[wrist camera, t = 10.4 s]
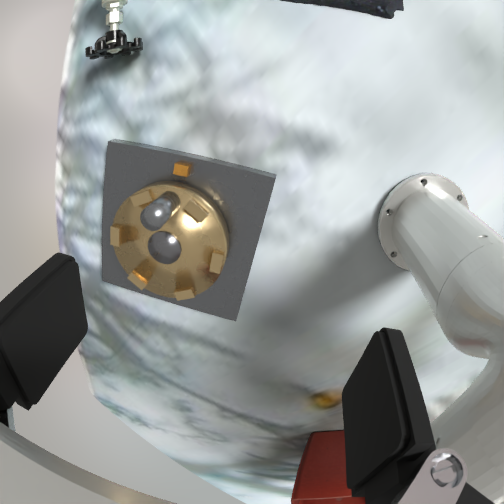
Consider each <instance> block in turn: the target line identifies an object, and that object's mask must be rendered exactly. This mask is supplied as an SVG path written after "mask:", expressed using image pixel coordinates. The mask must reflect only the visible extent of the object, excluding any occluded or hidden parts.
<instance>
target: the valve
mask: <svg viewBox="0 0 504 504" xmlns="http://www.w3.org/2000/svg"><path fill="white" fill-rule="evenodd" d="M127 2H128V0H102V7H103V8H106V10H107V11H109V14H107V15H106V25H107V26H110V31H109V32H107V33H106V36H104V37H101V38H99V39H98V40H97V41H96V43H95V50H92V46H90V47H87V48H86V57H90V59H97V58H99V57H102V56H104V58H105V59H108V58H112V57H113V56H114V55H119V54H121V55H123V56H125V55H130V54H131V51H135V52H136V51H141V50H143V42H142V38H134V42H127V37H126V34H125V33H124V32H123V30H119V25H120V24H121V23H122V22H123V13H122V12H119V11H120V9H122V8H123V6H124V5H125V4H127Z"/></svg>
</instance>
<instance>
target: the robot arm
mask: <svg viewBox="0 0 504 504" xmlns="http://www.w3.org/2000/svg"><path fill="white" fill-rule="evenodd" d="M422 179H423V181H422V182H421V180H422ZM457 196H458V197H457ZM388 209H389V211H388V212H386V211H387V210H388ZM378 235H379V240H380V243H381V246H382V248H383V250H384V252H385V253H386V255H387V256H388V258H389V259H390V260H391V261H392V262H393V263H395V264H396V265H397V266H399V267H401V268H403V269H406V270H409V271H411V273H412V275H413V276H414V278H415V280H416V282H417V283H418V285H419V287H420V289H421V291H422V292H423V294H424V296H425V298H426V300H427V302H428V304H429V305H430V307H431V309H432V311H433V313H434V315H435V317H436V319H437V321H438V323H439V324H440V326H441V328H442V330H443V332H444V334H445V336H446V337H447V339H448V340H449V342H450V343H451V344H452V345H453V346H454V347H455V348H456V349H457V350H459V351H460V352H462V353H464V354H467V355H469V356H473V357H477V358H484V359H489V361H488V363H487V365H486V366H485V368H484V370H483V371H482V372H481V373H480V374H479V376H478V377H477V378H476V379H475V380H474V381H473V382H472V384H471V385H470V387H469V388H468V389H467V390H466V391H465V392H464V393H463V394H462V395H461V396H460V397H459V398H458V399H457V400H456V401H455V402H454V403H453V404H451V405H450V406H449V407H448V408H447V409H446V410H445V411H444V412H443V413H442V414H441V415H440V416H439V417H437V418H436V419H435V420H434V421H433V422H432V423H431V424H430V421H429V417H428V413H427V410H426V406H425V403H424V399H423V395H422V392H421V389H420V385H419V382H418V379H417V376H416V373H415V369H414V366H413V363H412V360H411V357H410V354H409V351H408V348H407V345H406V342H405V339H404V336H403V333H402V332H401V331H400V330H396V329H390V328H382V329H381V330H380V331H376V332H375V333H374V334H373V336H372V338H371V340H370V342H369V344H368V346H367V348H366V349H365V351H364V353H363V355H362V357H361V359H360V360H359V362H358V364H357V366H356V368H355V369H354V371H353V373H352V375H351V376H350V378H349V380H348V381H347V383H346V385H345V386H344V389H343V392H342V406H343V420H344V436H345V455H346V483H347V488H348V489H351V494H352V497H365V504H504V238H503V237H502V236H501V235H499V234H498V233H497V232H496V231H495V230H494V229H492V228H491V227H490V226H489V225H488V224H486V223H485V222H484V221H483V220H481V219H480V218H479V217H478V216H477V215H475V214H474V213H473V212H471V211H470V210H469V207H468V203H467V200H466V198H465V195H464V194H463V192H462V191H461V189H460V188H459V187H458V186H457V185H456V184H455V183H454V182H452V181H451V180H449V179H448V178H446V177H443V176H441V175H438V174H433V173H422V174H418V175H414V176H412V177H409V178H407V179H405V180H404V181H402V182H401V183H400V184H398V185H397V186H396V187H395V188H394V189H393V190H392V191H391V192H390V194H389V195H388V197H387V198H386V200H385V201H384V204H383V206H382V208H381V211H380V215H379V219H378ZM87 329H88V324H87V319H86V313H85V307H84V301H83V295H82V288H81V281H80V274H79V266H78V264H77V263H76V262H75V259H74V257H72V256H69V255H66V254H62V253H56V254H55V255H53V256H52V257H51V258H50V259H49V260H47V261H46V262H45V263H44V264H43V265H42V266H40V267H39V268H38V269H37V270H35V271H34V272H33V273H32V274H31V275H30V276H29V277H28V278H26V279H25V280H24V281H23V282H22V283H21V284H19V285H18V286H17V287H16V288H15V289H14V290H13V291H12V292H11V293H10V294H8V295H7V296H6V297H5V298H4V299H3V300H2V301H1V302H0V504H176V503H172V502H169V501H166V500H163V499H159V498H156V497H153V496H150V495H147V494H144V493H141V492H138V491H135V490H132V489H129V488H127V487H124V486H121V485H119V484H116V483H114V482H111V481H109V480H106V479H104V478H102V477H99V476H97V475H95V474H92V473H90V472H88V471H86V470H84V469H81V468H79V467H77V466H75V465H73V464H71V463H69V462H67V461H65V460H63V459H61V458H59V457H57V456H55V455H54V454H51V453H50V452H48V451H46V450H44V449H43V448H41V447H39V446H37V445H36V444H34V443H32V442H30V441H29V440H27V439H26V438H24V437H22V436H21V435H19V434H17V433H16V432H15V426H14V418H13V409H12V405H13V404H14V402H15V401H16V403H17V404H18V405H20V406H22V407H23V408H25V409H27V410H29V409H30V408H31V406H32V405H33V404H37V403H38V402H39V400H40V399H41V397H42V396H43V394H44V393H45V391H46V390H47V388H48V387H49V385H50V384H51V382H52V381H53V380H54V378H55V377H56V375H57V374H58V372H59V371H60V370H61V368H62V367H63V365H64V364H65V362H66V361H67V360H68V358H69V357H70V355H71V354H72V353H73V351H74V350H75V349H76V347H77V346H78V345H79V343H80V342H81V340H82V339H83V338H84V336H85V335H86V333H87Z"/></svg>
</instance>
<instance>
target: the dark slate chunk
mask: <svg viewBox="0 0 504 504" xmlns="http://www.w3.org/2000/svg"><path fill="white" fill-rule="evenodd" d="M281 1H289V2H295V3H304V4H317V5H320V6H329V7H336V8H343V9H347V10H354V11H359V12H363V13H368V14H371V15H374V16H381V17H384V18H388V19H391V18H393V17H394V12H395V11H396V10H402V11H403V10H404V7H403V0H281Z"/></svg>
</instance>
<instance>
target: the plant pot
mask: <svg viewBox="0 0 504 504" xmlns="http://www.w3.org/2000/svg"><path fill="white" fill-rule="evenodd" d="M291 504H365V497H352V494H351V489H348V488H347V483H346V455H345V436H344V430H342V431H329V432H315V433H312V434H311V435H310V437H309V440H308V442H307V445H306V447H305V450H304V453H303V456H302V459H301V462H300V465H299V469H298V472H297V476H296V480H295V484H294V488H293V493H292V498H291Z"/></svg>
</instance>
